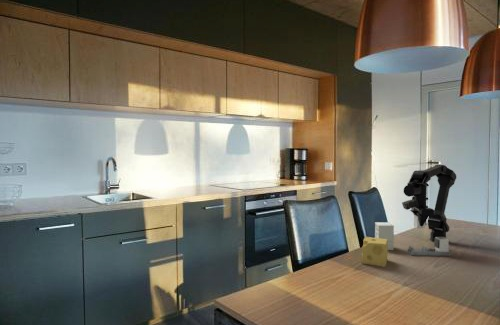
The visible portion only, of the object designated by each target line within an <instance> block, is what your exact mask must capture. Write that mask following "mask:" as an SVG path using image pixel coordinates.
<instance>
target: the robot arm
mask: <svg viewBox="0 0 500 325" xmlns="http://www.w3.org/2000/svg"><path fill="white" fill-rule="evenodd" d="M432 177H436V178H437V184H438V186H439V188H438V192H437V195H436V201H435V205H434V206H435V207H434V209H433V208H431V207H429V206H428V205H427V201H428V200H429V197H427V196H428V195H427V194H428V191H427V189H428V187H429V185H430V184H428V182H430V181H431V178H432ZM456 180H457V174H456V173H455V171H454V170H453V169H450V168H449V167H447V165H445V164H435V165H433V166H432V167H429V168H426V169H423V170H421V169H419V170H414V171H413V172H412V174H411V176H410V178H409V180H408V182H407V185H405V186H404V188H403V194H404V195H405V196H406V197H411V199H409V200H405V201H402V202H401V204H402V207H403V209H405V210H406V211H407V210H409V211H410V213H412V214H413V216H414V215H419V220H420V226H423V225H424V223H425V222H426V220H427V222H426V223H427V226H428V230H431V231H430V238H429V240H430V241H432V242H433V243H434V238H435V237H445V238H447V233H449V231H450V226H449V224H448V223H447V220H448V219H447V216H446V214H445V212H446V207H447V203H448V198H449V194H450V193H449V192H450V189H451V187H453V185H455V182H456Z"/></svg>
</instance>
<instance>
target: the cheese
mask: <svg viewBox="0 0 500 325" xmlns="http://www.w3.org/2000/svg"><path fill="white" fill-rule="evenodd" d="M362 241H363V243H362V244H363V245H362V247H361V252H362V253H361V257H360V262H361V264H363V265H364V264H365V265H370V266H378V267H383V268H385V267H386V265H387V263H388V262H387V261H388V253H389V252H388V251H389V250H388V239H381V238H375V237H370V236H364V238H363V240H362Z"/></svg>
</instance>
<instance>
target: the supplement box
mask: <svg viewBox="0 0 500 325" xmlns="http://www.w3.org/2000/svg"><path fill="white" fill-rule="evenodd" d="M394 228H395V226H394V225H393V224H392V223H391V222H387V221H385V222H378V221H376V222H374V238H381V239H388V251H394V249H395V248H394V240H395V238H394V232H395V230H394Z"/></svg>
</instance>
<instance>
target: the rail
mask: <svg viewBox="0 0 500 325" xmlns="http://www.w3.org/2000/svg"><path fill="white" fill-rule="evenodd" d="M433 243H434V244H433V246H434V248H428V247H427V246H425V245H421V248H414V247H413V246H411V245H408V248H407V254H409V255H410V256H425V257H426V256H435V257H437V256H438V257H439V256H440V257H451V251H449V238H447V237H446V238H445V237H435V238H434V242H433Z"/></svg>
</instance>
